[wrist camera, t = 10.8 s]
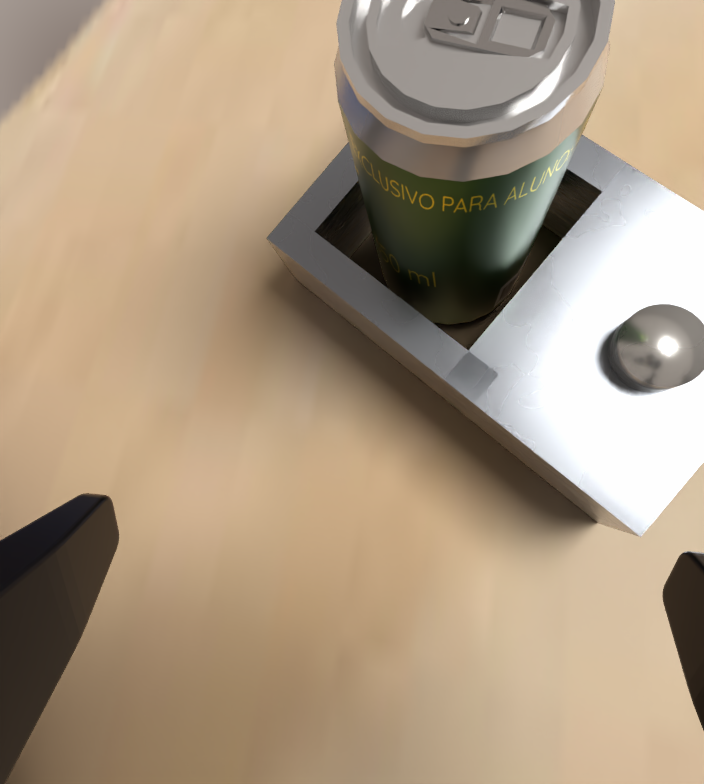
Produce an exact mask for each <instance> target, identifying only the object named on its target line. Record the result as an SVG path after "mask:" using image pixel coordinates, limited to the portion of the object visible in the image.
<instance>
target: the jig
mask: <svg viewBox="0 0 704 784" xmlns="http://www.w3.org/2000/svg"><path fill="white" fill-rule="evenodd" d="M542 225H543V226H545V227H546V228H548V229H549V230H550V231H552V232H553V233H555V234H556V235H558V236H559V237H561V238H562V240H561V241H560V243H559V244H558V245H557V246H556V247H555V248H554V250H553V251H552V252H551V253H550V254H549V256H548V257H547V258H546V259H545V260H544V261H543V263H542V264H541V265H540V266H539V267H538V269H537V270H536V271H535V272H534V273H533V275H532V276H531V277H530V278H529V279H528V280H527V282H526V283H525V284H524V285H523V286H522V288H521V289H520V290H519V291H518V292H517V293H516V295H515V296H514V297H513V298H512V299H511V301H510V302H509V303H508V304H507V305H506V306H505V308H504V309H503V310H502V311H501V312H500V314H499V315H498V316H497V317H496V318H495V319H494V321H493V322H492V323H491V324H490V325H489V327H488V328H487V329H486V330H485V331H484V332H483V334H482V335H481V336H480V337H479V338H478V340H477V341H476V342H475V343H474V344H473V346H472V347H471V348H470V349H469V350H467V349H466V348H464V347H463V346H462V345H460V344H459V343H458V342H457V341H455V340H454V339H453V338H451V337H450V336H449V335H447V334H446V333H445V332H444V331H442V330H441V329H440V328H438V327H437V326H436V325H435V324H433V323H432V322H431V321H429V320H428V319H427V318H426V317H424V316H423V315H422V314H420V313H419V312H418V311H416V310H415V309H414V308H413V307H411V306H410V305H409V304H407V303H406V302H405V301H404V300H402V299H401V298H400V297H398V296H397V295H396V294H395V293H393V292H392V291H391V290H389V289H388V288H387V287H385V286H384V285H383V284H382V283H380V282H379V281H378V280H376V279H375V278H374V277H373V276H371V275H370V274H369V273H367V272H366V271H365V270H364V269H362V268H361V267H360V266H358V265H357V264H356V263H354V262H353V261H352V260H351V259H349V258H350V257H351V255H352V254H353V253H354V252H355V251H356V250H357V248H358V247H359V246H360V245H361V244H362V242H363V241H364V240H365V239H366V238H367V237H368V235H369V234H370V233H371V232H372V230H371V226H370V223H369V219H368V215H367V211H366V207H365V203H364V199H363V195H362V191H361V188H360V184H359V180H358V176H357V172H356V168H355V164H354V160H353V157H352V153H351V149H350V145H349V142H348V143H347V145H346V146H345V147H344V148H343V149H342V150H341V152H340V153H339V154H338V155H337V156H336V157H335V159H334V160H333V161H332V162H331V163H330V164H329V166H328V167H327V168H326V169H325V170H324V171H323V173H322V174H321V175H320V176H319V177H318V178H317V180H316V181H315V182H314V183H313V184H312V186H311V187H310V188H309V189H308V190H307V191H306V193H305V194H304V195H303V196H302V197H301V198H300V200H299V201H298V202H297V203H296V204H295V205H294V207H293V208H292V209H291V210H290V211H289V212H288V214H287V215H286V216H285V217H284V218H283V219H282V221H281V222H280V223H279V224H278V225H277V226H276V228H275V229H274V230H273V231H272V232H271V233H270V235H269V236H268V237H267V240H268V241H269V242H270V244H271V245H272V247H273V248H274V249H275V251H276V252H277V254H278V255H279V256H280V258H281V259H282V260H283V262H284V263H285V265H286V266H287V267H288V269H289V270H290V272H291V273H292V274H293V276H294V277H295V278H296V280H298V281H299V282H300V283H301V284H303V285H304V286H305V287H306V288H308V289H309V290H310V291H311V292H313V293H314V294H315V295H316V296H318V297H319V298H320V299H321V300H322V301H324V302H325V303H326V304H327V305H329V306H330V307H331V308H332V309H334V310H335V311H336V312H337V313H339V314H340V315H341V316H342V317H344V318H345V319H346V320H347V321H348V322H350V323H351V324H352V325H353V326H355V327H356V328H357V329H358V330H360V331H361V332H362V333H363V334H365V335H366V336H367V337H368V338H370V339H371V340H372V341H373V342H374V343H376V344H377V345H378V346H379V347H381V348H382V349H383V350H384V351H386V352H387V353H388V354H389V355H391V356H392V357H393V358H394V359H396V360H397V361H398V362H399V363H400V364H402V365H403V366H404V367H405V368H407V369H408V370H409V371H410V372H412V373H413V374H414V375H415V376H417V377H418V378H419V379H420V380H422V381H423V382H424V383H425V384H427V385H428V386H429V387H430V388H431V389H433V390H434V391H435V392H436V393H438V394H439V395H440V396H441V397H443V398H444V399H445V400H446V401H448V402H449V403H450V404H451V405H453V406H454V407H455V408H456V409H457V410H459V411H460V412H461V413H462V414H464V415H465V416H466V417H467V418H469V419H470V420H471V421H472V422H474V423H475V424H476V425H477V426H479V427H480V428H481V429H482V430H483V431H485V432H486V433H487V434H488V435H490V436H491V437H492V438H493V439H495V440H496V441H497V442H498V443H500V444H501V445H502V446H503V447H505V448H506V449H507V450H508V451H509V452H511V453H512V454H513V455H514V456H516V457H517V458H518V459H519V460H521V461H522V462H523V463H524V464H526V465H527V466H528V467H529V468H531V469H532V470H533V471H534V472H535V473H537V474H538V475H539V476H540V477H542V478H543V479H544V480H545V481H547V482H548V483H549V484H550V485H552V486H553V487H554V488H555V489H557V490H558V491H559V492H560V493H561V494H563V495H564V496H565V497H566V498H568V499H569V500H570V501H571V502H573V503H574V504H575V505H576V506H578V507H579V508H580V509H581V510H583V511H584V512H585V513H586V514H587V515H589V516H590V517H591V518H592V519H594V520H595V521H596V522H597V523H599V524H602V525H605V526H608V527H612V528H615V529H618V530H621V531H624V532H627V533H630V534H633V535H636V536H639V537H641V536H642V535H643V534H644V532H645V531H646V530H647V529H648V528H649V526H650V525H651V524H652V523H653V522H654V520H655V519H656V518H657V517H658V516H659V514H660V513H661V512H662V511H663V510H664V508H665V507H666V506H667V505H668V504H669V502H670V501H671V500H672V499H673V498H674V496H675V495H676V494H677V493H678V492H679V490H680V489H681V488H682V487H683V486H684V484H685V483H686V482H687V481H688V480H689V478H690V477H691V476H692V475H693V474H694V472H695V471H696V470H697V469H698V468H699V467H700V465H701V464H702V463H703V462H704V211H702V210H700V209H699V208H697V207H696V206H694V205H692V204H691V203H689V202H688V201H686V200H685V199H683V198H681V197H680V196H678V195H677V194H675V193H673V192H672V191H670V190H669V189H667V188H666V187H664V186H662V185H661V184H659V183H658V182H656V181H654V180H653V179H651V178H650V177H648V176H647V175H645V174H643V173H642V172H640V171H639V170H637V169H636V168H634V167H632V166H631V165H629V164H628V163H626V162H624V161H623V160H621V159H620V158H618V157H617V156H615V155H613V154H612V153H610V152H609V151H607V150H605V149H604V148H602V147H601V146H599V145H598V144H596V143H594V142H593V141H591V140H590V139H588V138H586V137H585V136H583V135H581V138H580V140H579V142H578V144H577V147H576V149H575V151H574V153H573V156H572V158H571V160H570V163H569V165H568V167H567V169H566V172H565V174H564V176H563V178H562V181H561V183H560V185H559V187H558V190H557V192H556V194H555V196H554V199H553V201H552V203H551V205H550V208H549V210H548V212H547V214H546V217H545V219H544V221H543V223H542Z"/></svg>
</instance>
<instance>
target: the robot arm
mask: <svg viewBox="0 0 704 784" xmlns="http://www.w3.org/2000/svg"><path fill="white" fill-rule="evenodd" d="M118 542H119V530H118V526H117V521H116V516H115V511H114V507H113V503H112V500H111V498H110V497H109V496H106V495H100V494H89V493H86V494H81V495H79V496H77V497H75V498H74V499H72V500H70V501H68V502H67V503H65V504H63V505H61V506H60V507H58V508H56V509H54V510H53V511H51V512H49V513H47V514H46V515H44V516H42V517H41V518H39V519H37V520H35V521H34V522H32V523H30V524H28V525H27V526H25V527H23V528H21V529H20V530H18V531H16V532H14V533H13V534H11V535H9V536H8V537H6V538H4V539H2V540H1V541H0V784H5V782H6V781H7V779H8V777H9V775H10V773H11V771H12V769H13V767H14V765H15V763H16V761H17V760H18V758H19V756H20V754H21V752H22V750H23V748H24V746H25V744H26V742H27V740H28V738H29V737H30V735H31V733H32V731H33V729H34V727H35V725H36V723H37V721H38V719H39V717H40V716H41V714H42V712H43V710H44V708H45V706H46V704H47V702H48V700H49V698H50V696H51V695H52V693H53V691H54V689H55V687H56V685H57V683H58V681H59V679H60V677H61V675H62V674H63V672H64V670H65V668H66V666H67V664H68V662H69V660H70V658H71V656H72V654H73V652H74V650H75V648H76V646H77V644H78V642H79V640H80V638H81V636H82V634H83V631H84V629H85V627H86V624H87V622H88V620H89V617H90V615H91V612H92V610H93V607H94V605H95V602H96V600H97V597H98V594H99V592H100V589H101V587H102V584H103V582H104V579H105V577H106V574H107V572H108V569H109V567H110V564H111V562H112V559H113V557H114V554H115V552H116V549H117V546H118ZM663 602H664V606H665V610H666V613H667V617H668V620H669V624H670V627H671V631H672V634H673V638H674V641H675V644H676V648H677V651H678V655H679V658H680V662H681V665H682V669H683V672H684V676H685V679H686V682H687V686H688V689H689V692H690V695H691V698H692V701H693V704H694V707H695V709H696V712H697V715H698V717H699V720H700V723H701V725H702V728H703V730H704V553H700V552H690V551H688V552H684V553H683V554H681V555H680V556H679V558H678V560H677V562H676V564H675V566H674V568H673V570H672V572H671V573H670V575H669V577H668V579H667V581H666V583H665V585H664V589H663Z"/></svg>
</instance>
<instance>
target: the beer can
mask: <svg viewBox="0 0 704 784" xmlns="http://www.w3.org/2000/svg"><path fill="white" fill-rule="evenodd" d="M614 4H615V0H342V2H341V6H340V10H339V15H338V19H337V23H336V24H337V33H338V42H339V46H338V50H337V54H336V59H335V63H334V67H335V76H336V86H337V95H338V102H339V106H340V110H341V114H342V118H343V122H344V125H345V129H346V133H347V137H348V141H349V145H350V149H351V153H352V157H353V160H354V164H355V168H356V172H357V176H358V180H359V184H360V188H361V191H362V195H363V199H364V203H365V207H366V211H367V215H368V219H369V223H370V226H371V230H372V234H373V238H374V242H375V246H376V250H377V254H378V257H379V261H380V265H381V269H382V273H383V277H384V279H385V281H386V284H387V286H388V288H389V290H391V291H392V292H393V293H395V294H396V295H397V296H398V297H400V298H401V299H402V300H404V301H405V302H406V303H407V304H409V305H410V306H411V307H413V308H414V309H415V310H416V311H418V312H419V313H420V314H422V315H423V316H424V317H426V318H427V319H428V320H429V321H431V322H436V323H442V324H448V325H449V324H456V323H464V322H471V321H473V320H475V319H477V318H479V317H482V316H484V315H486V314H488V313H490V312H492V311H493V310H494V309H495V308H496V307H497V306H498V305H499V304H500V303H502V302H503V301H504V300H505V299H506V298H507V297H508V295H509V294H510V292H511V290H512V288H513V287H514V285H515V283H516V281H517V280H518V278H519V275H520V273H521V271H522V269H523V266H524V264H525V262H526V260H527V257H528V255H529V253H530V251H531V248H532V246H533V244H534V242H535V239H536V237H537V235H538V233H539V230H540V228H541V226H542V223H543V221H544V219H545V217H546V214H547V212H548V210H549V208H550V205H551V203H552V201H553V199H554V196H555V194H556V192H557V190H558V187H559V185H560V183H561V181H562V178H563V176H564V174H565V172H566V169H567V167H568V165H569V163H570V160H571V158H572V156H573V153H574V151H575V149H576V147H577V144H578V142H579V140H580V138H581V135H582V133H583V131H584V129H585V126H586V124H587V122H588V120H589V117H590V115H591V113H592V111H593V108H594V106H595V104H596V102H597V99H598V97H599V95H600V92H601V90H602V88H603V85H604V79H605V73H606V67H607V61H608V56H609V50H610V44H609V33H610V27H611V22H612V16H613V10H614Z"/></svg>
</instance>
